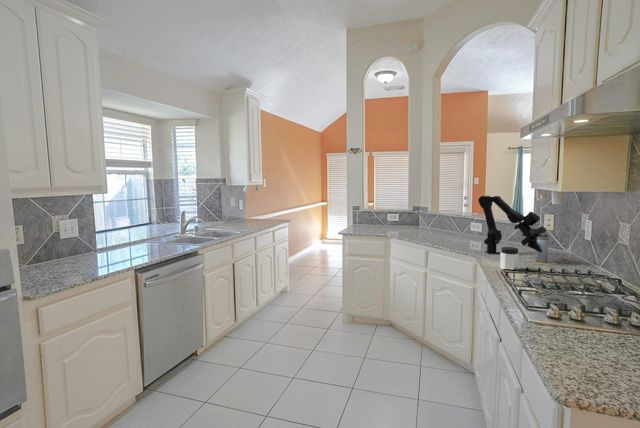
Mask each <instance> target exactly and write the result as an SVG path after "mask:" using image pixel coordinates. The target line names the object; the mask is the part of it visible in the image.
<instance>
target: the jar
mask: <svg viewBox="0 0 640 428" xmlns="http://www.w3.org/2000/svg"><path fill="white" fill-rule="evenodd" d="M499 255H500V258H499V259H500V262H499V269H501V270H503V269H511V270H513V269H515V268H516V269H518V270H519V263H520V261H519V257H520V253H519V249H518V247H515V246H502V247H501V251H500V254H499Z"/></svg>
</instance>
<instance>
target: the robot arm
mask: <svg viewBox="0 0 640 428" xmlns="http://www.w3.org/2000/svg"><path fill="white" fill-rule="evenodd" d="M478 204H479V205H480V207H481V209H482V210H483V213H484V218H485V221H486V225H487V236H486V238H485V239H484V240H483V243H484V245H486V250H485V251H484V252H485V253H487V254H489V255H491V254H499V252H498V251H497V244H500V242H501V240H502V238H503V235H502V230H501V229H500V230H499V229H498V228H497V225H496V221H495V217H494V213H493V209H492V206H493V204H495V205H496V206H497V207H498V208H499V209H500V210H501V211H502V212H503V213H505V215H506V217H507V219H508V220H509V222H510V223H511V224H515V225H514V230H519V231H520V233H522V237H525V238H523V239H522V240H521V242H520V243H521V245H522V246H523V247H525V246H526V247H529V248H530V249H532V250H534V251H536V250H537V251H539V252H542V250H541V249H540V247H539V246H538V245H537V237H538V236H541V235H544V236H545V237H549V236H548V235H547V234H545V233H546V232H547V228H546V227H544V226H539V227H538V228H536V229H535V228H532V227H533V226H535V225H536V223H538V222H539V221H540V220H541V218H540V216H539V215H538V214H537V213H535V212H533V211H529V213H528V214H526V216H525V215H523V214H522V213H520V212H519V211H517V210H514V209H513V208H512V207H511V206H510V205H509V204H507V202H505V201H504V200H503V199H502V197H501V196H499V195H495V196H490V195H481V196H480V197H479V198H478Z"/></svg>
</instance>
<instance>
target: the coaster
mask: <svg viewBox="0 0 640 428" xmlns="http://www.w3.org/2000/svg"><path fill="white" fill-rule="evenodd" d="M526 261H528V262H530V263H533V264H535V265H539V266H540V265H541V266H542V265H545V266H546V265H558V263H557V262H554V261H551V260H548V263H539V262H536V259H526Z"/></svg>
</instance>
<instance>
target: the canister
mask: <svg viewBox="0 0 640 428" xmlns="http://www.w3.org/2000/svg"><path fill="white" fill-rule="evenodd" d="M540 235H541V236H538V237H537V245H538V246H539V247H540V249H541V250H542V252H539V251H537V250H535V260H536V262H539V263H548V261H549V260H548V259H549V243H550V237H549V236H548V237H545V236H544V235H542V234H540Z"/></svg>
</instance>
